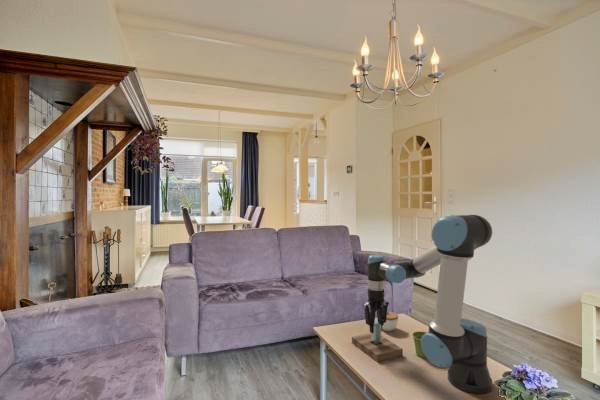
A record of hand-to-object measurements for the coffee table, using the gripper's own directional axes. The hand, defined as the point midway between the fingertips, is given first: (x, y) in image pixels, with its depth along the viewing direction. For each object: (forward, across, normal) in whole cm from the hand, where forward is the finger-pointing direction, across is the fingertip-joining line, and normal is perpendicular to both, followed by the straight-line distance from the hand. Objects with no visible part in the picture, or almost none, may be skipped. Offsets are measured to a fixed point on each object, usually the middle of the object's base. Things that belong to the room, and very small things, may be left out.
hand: (376, 338), depth 152 cm
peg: (+3, 0, 0) cm, 3 cm away
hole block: (+5, 0, 0) cm, 5 cm away
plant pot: (+5, -16, +13) cm, 21 cm away
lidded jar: (+5, -20, -17) cm, 27 cm away
